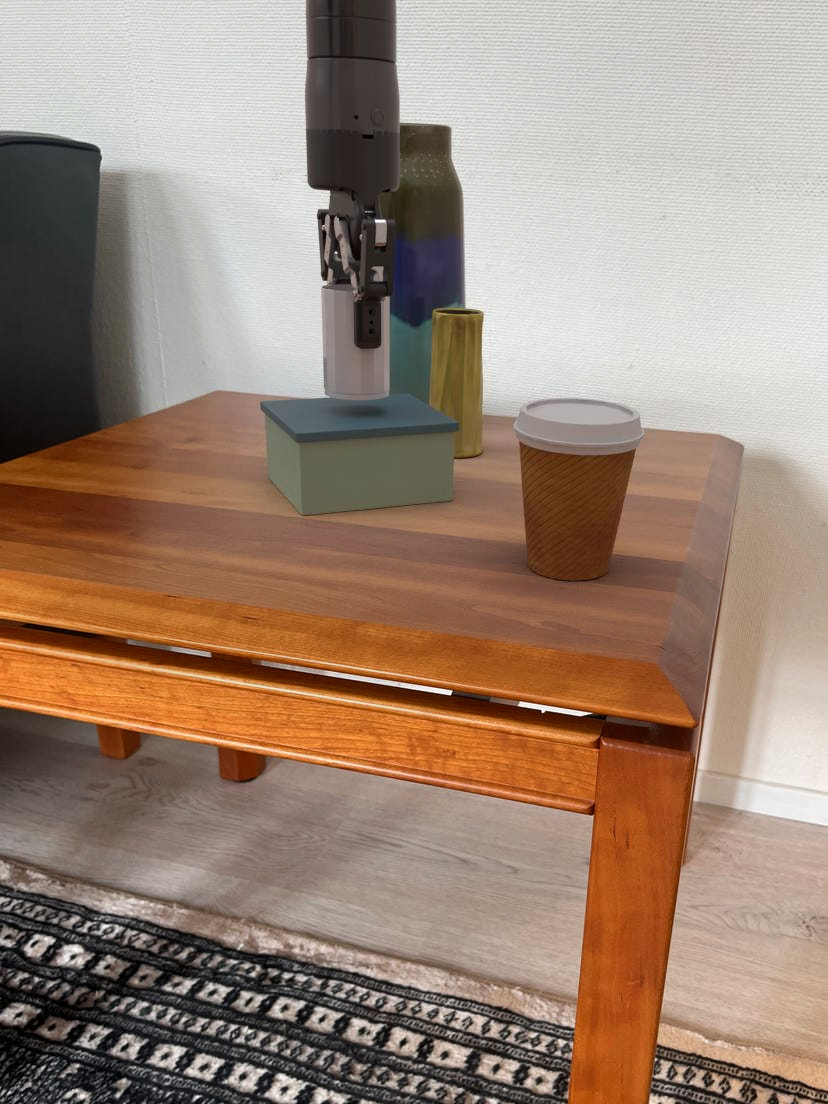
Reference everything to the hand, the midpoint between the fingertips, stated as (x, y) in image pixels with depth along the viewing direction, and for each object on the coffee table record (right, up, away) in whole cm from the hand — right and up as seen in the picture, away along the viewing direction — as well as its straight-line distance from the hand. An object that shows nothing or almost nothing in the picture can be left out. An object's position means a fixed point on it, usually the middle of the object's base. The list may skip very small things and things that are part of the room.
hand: (356, 341), depth 89 cm
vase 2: (+8, -6, +19) cm, 22 cm away
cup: (0, -4, +2) cm, 5 cm away
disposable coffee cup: (+18, -21, -10) cm, 29 cm away
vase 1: (+2, +1, +34) cm, 34 cm away
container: (-1, -12, +6) cm, 13 cm away
